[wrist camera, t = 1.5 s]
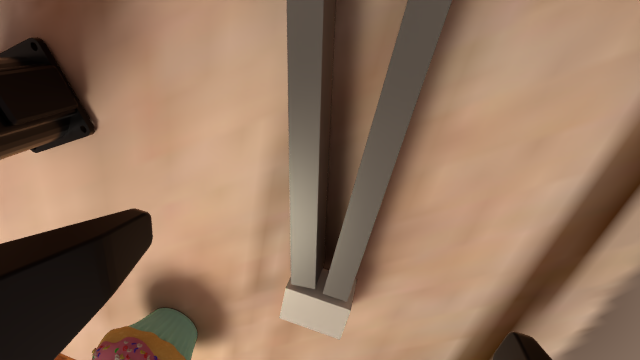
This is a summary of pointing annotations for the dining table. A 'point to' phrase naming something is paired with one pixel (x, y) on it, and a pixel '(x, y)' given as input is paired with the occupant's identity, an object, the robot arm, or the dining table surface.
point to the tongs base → (371, 172)
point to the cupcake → (151, 339)
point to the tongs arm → (309, 132)
